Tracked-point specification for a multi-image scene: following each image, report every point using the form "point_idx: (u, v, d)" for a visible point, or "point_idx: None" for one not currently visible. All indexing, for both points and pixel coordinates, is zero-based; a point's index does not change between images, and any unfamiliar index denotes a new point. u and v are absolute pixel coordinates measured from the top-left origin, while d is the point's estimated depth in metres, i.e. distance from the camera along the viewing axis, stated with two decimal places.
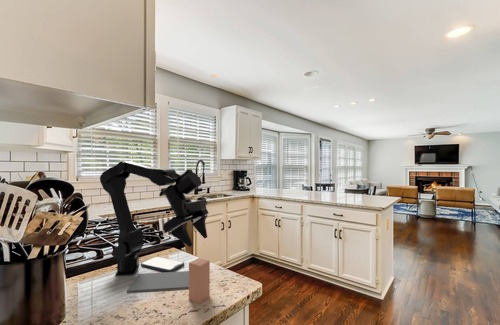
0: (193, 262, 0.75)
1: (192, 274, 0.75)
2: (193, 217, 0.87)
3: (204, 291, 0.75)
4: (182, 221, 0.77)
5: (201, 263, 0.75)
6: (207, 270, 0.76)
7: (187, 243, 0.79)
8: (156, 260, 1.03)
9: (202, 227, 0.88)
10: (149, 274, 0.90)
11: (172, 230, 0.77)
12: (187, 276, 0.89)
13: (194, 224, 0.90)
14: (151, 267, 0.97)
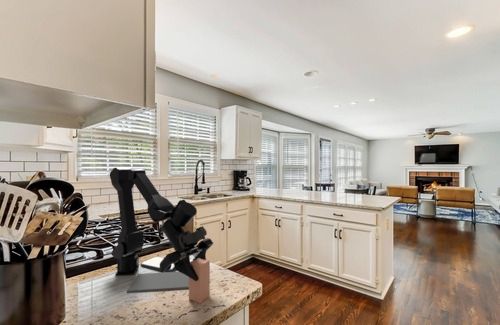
0: (193, 262, 0.75)
1: None
2: (195, 250, 0.81)
3: (204, 291, 0.75)
4: (178, 257, 0.71)
5: (201, 263, 0.75)
6: (207, 270, 0.76)
7: (193, 277, 0.74)
8: (156, 260, 1.03)
9: None
10: (149, 274, 0.90)
11: (175, 265, 0.73)
12: (187, 276, 0.89)
13: None
14: (151, 267, 0.97)
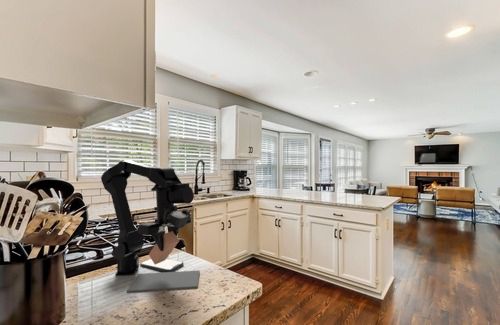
0: (166, 236, 0.84)
1: None
2: None
3: (163, 258, 0.87)
4: (155, 231, 0.79)
5: (171, 241, 0.84)
6: (173, 246, 0.86)
7: (159, 247, 0.84)
8: None
9: None
10: (149, 274, 0.90)
11: None
12: (187, 276, 0.89)
13: (168, 228, 0.90)
14: (150, 267, 0.97)
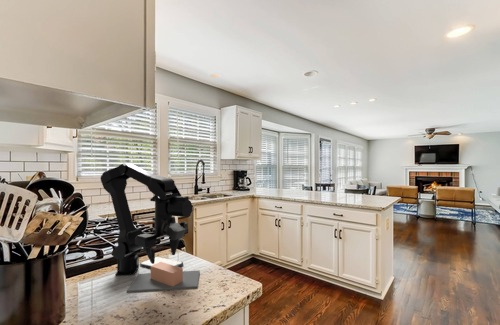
0: (174, 276, 0.82)
1: (166, 275, 0.83)
2: None
3: None
4: (152, 243, 0.80)
5: (176, 282, 0.83)
6: None
7: (150, 260, 0.83)
8: (156, 259, 1.03)
9: (174, 244, 0.91)
10: (149, 274, 0.90)
11: None
12: (187, 276, 0.89)
13: (170, 236, 0.93)
14: (150, 267, 0.97)
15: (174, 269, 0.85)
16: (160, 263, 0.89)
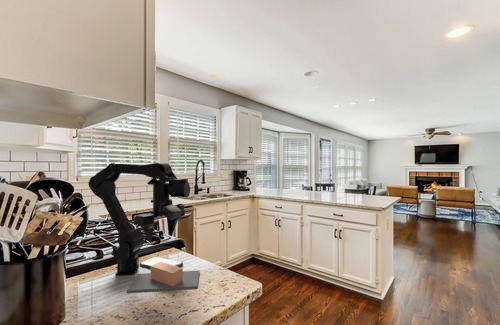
0: (174, 276, 0.82)
1: (166, 275, 0.83)
2: None
3: None
4: (150, 223, 0.84)
5: (176, 282, 0.83)
6: None
7: (148, 239, 0.88)
8: (155, 259, 1.03)
9: (172, 226, 0.96)
10: (149, 274, 0.90)
11: (140, 224, 0.86)
12: (187, 276, 0.89)
13: (168, 218, 0.97)
14: (150, 267, 0.97)
15: (174, 269, 0.85)
16: (160, 263, 0.89)
